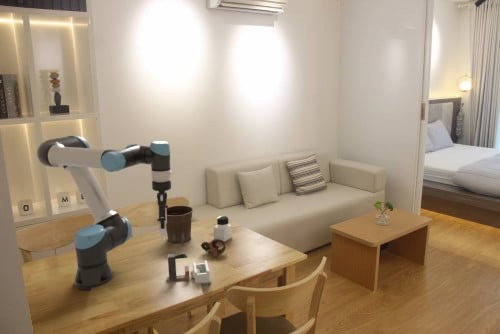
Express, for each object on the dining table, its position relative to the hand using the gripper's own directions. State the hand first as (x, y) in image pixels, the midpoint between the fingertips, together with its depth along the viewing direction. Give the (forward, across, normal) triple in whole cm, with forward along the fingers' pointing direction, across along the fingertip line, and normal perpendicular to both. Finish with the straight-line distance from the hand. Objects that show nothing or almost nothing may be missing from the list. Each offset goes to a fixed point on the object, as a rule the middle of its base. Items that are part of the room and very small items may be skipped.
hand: (163, 229), depth 166 cm
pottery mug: (+23, +21, -23) cm, 38 cm away
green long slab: (+22, -4, -3) cm, 23 cm away
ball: (+19, -4, -13) cm, 23 cm away
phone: (+23, +14, -7) cm, 28 cm away
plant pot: (+23, +43, -7) cm, 49 cm away
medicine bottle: (+23, +38, -30) cm, 54 cm away
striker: (+21, -4, -5) cm, 22 cm away
